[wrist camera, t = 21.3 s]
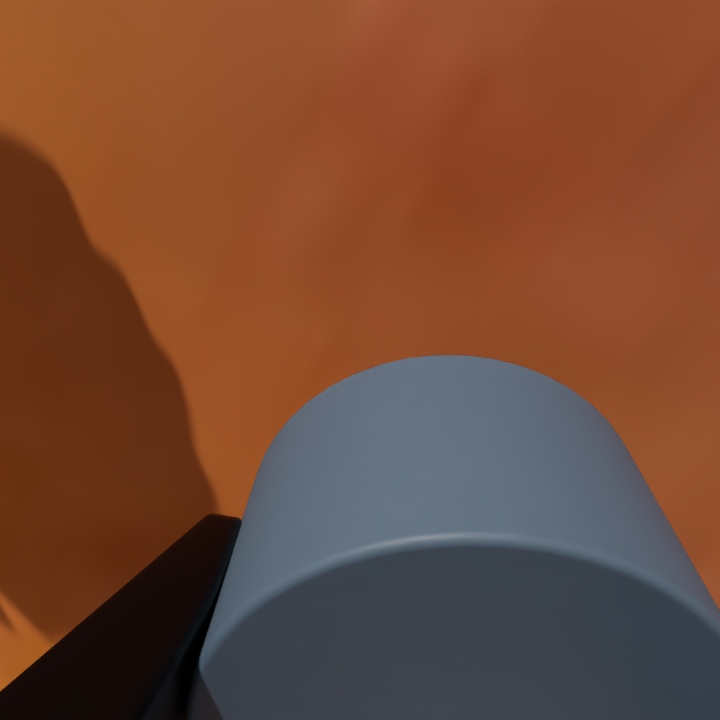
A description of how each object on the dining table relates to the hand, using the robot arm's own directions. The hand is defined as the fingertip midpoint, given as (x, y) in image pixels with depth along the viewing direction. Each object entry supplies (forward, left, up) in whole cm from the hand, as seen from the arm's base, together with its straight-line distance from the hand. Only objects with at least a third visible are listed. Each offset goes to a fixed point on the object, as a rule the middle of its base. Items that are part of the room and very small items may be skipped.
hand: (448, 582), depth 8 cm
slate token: (0, 0, -1) cm, 1 cm away
